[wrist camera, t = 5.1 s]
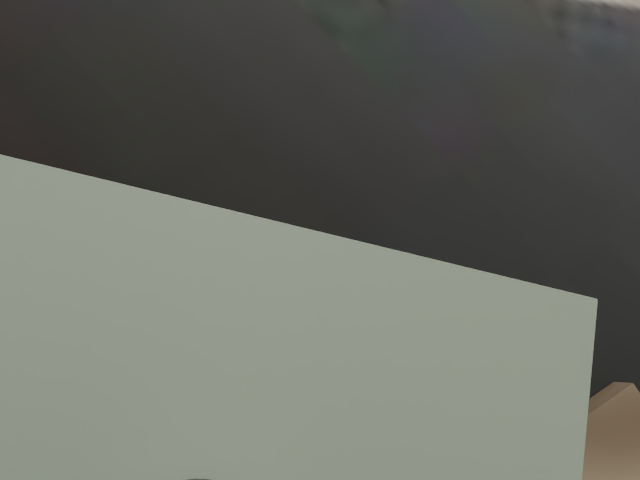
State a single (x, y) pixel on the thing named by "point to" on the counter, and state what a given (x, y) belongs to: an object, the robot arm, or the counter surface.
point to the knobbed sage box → (267, 349)
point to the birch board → (613, 434)
